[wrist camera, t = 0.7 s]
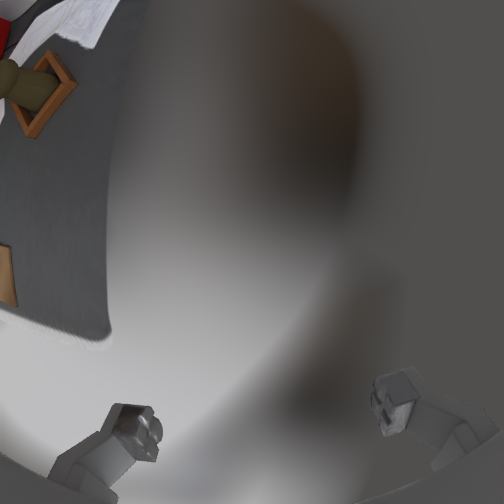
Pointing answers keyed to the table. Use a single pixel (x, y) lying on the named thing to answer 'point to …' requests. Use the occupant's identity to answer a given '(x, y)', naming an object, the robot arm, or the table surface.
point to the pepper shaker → (26, 85)
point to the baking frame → (53, 102)
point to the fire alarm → (3, 34)
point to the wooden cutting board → (7, 277)
